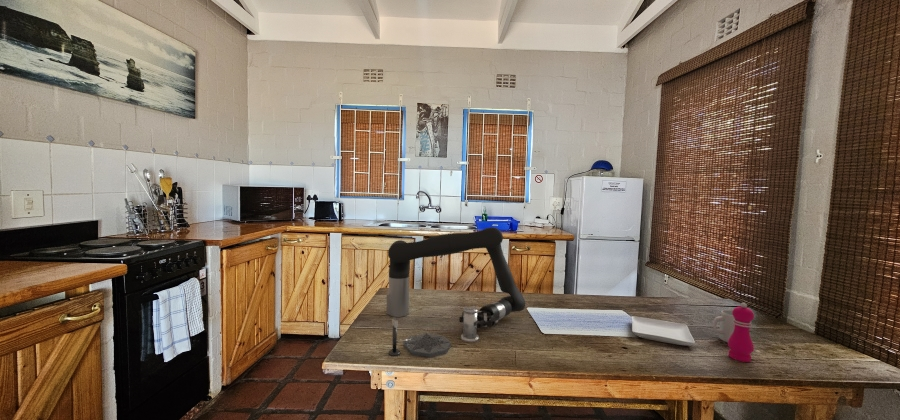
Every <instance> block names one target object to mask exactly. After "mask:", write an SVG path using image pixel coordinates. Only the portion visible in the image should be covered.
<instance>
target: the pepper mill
mask: <svg viewBox="0 0 900 420" xmlns="http://www.w3.org/2000/svg"><path fill="white" fill-rule="evenodd" d="M732 311H733V312H732V315H733V317H734V318H735V319H734V322H733V323H734V324H735V328H734V332H733V334H732V335H731V336H730V338H729V340H728V342H727V346H728V348H729V350H728V356H729V357H730V358H732V359H733V360H735V361H739V362H743V363H750V362H751V361H752V355H751V354H752V353H754V348H755V347H754V343H753V341H752V338H751V335H750V328H751V327H752V322H753V320H754V318H755V314H754V312H753V310H751V308H749V307H748V304H747V303H745V302H741V303H740V306H736V307H733V309H732Z"/></svg>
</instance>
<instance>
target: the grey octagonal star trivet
mask: <svg viewBox="0 0 900 420" xmlns="http://www.w3.org/2000/svg"><path fill="white" fill-rule="evenodd" d="M407 339H411V340H410V341H404V342H403V349H404V350H405V351H406V352H408V354H409V355H410V356H414V357H415V356H416V357H421V358H428V359H429V358H433V357H440V356H443V355H444V356H445V355H446V354H448V352H449V350H450V348H451V347H452V341H451V340H449V339H448V338H447V337H445V336H444V335H443V334H436V333H435V334H433V333H428V332H425V333H420V334H416V335H410V336H409V337H408V338H407Z"/></svg>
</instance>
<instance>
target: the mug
mask: <svg viewBox="0 0 900 420" xmlns="http://www.w3.org/2000/svg"><path fill="white" fill-rule="evenodd" d="M732 312H733V309H732V310H731V309H729V310H728V309H723V310H721V311H720V315H719V316H716V317H714V319H713V321H712V329H713V332H714V333H715V334H719V336H718V337H719V339H720V340H721V341H723V342H726V343H728V340H729V338H730V336H731V335H732V334H733V332H734V328H735V324H734V323H733V322H734V319H735V318H734V317H733V315H732ZM719 321H720V322H719ZM718 322H719V323H720V324H719V329H718V328H717V323H718Z"/></svg>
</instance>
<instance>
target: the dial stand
mask: <svg viewBox="0 0 900 420" xmlns="http://www.w3.org/2000/svg"><path fill="white" fill-rule="evenodd" d="M391 326H392V343H391V344H392V347H391V348H392V349H389V350H388V356H389V357H398V356H400V355H401V350H400V349H398V348H397V344H398V343H404V342H405V341H410V340H411V339H408V338H405V339H402V340H397V337H398V335H397V334H398V333H397V332H398V331H397V329H398V328H399V320H398V319H397V317H391Z"/></svg>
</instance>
